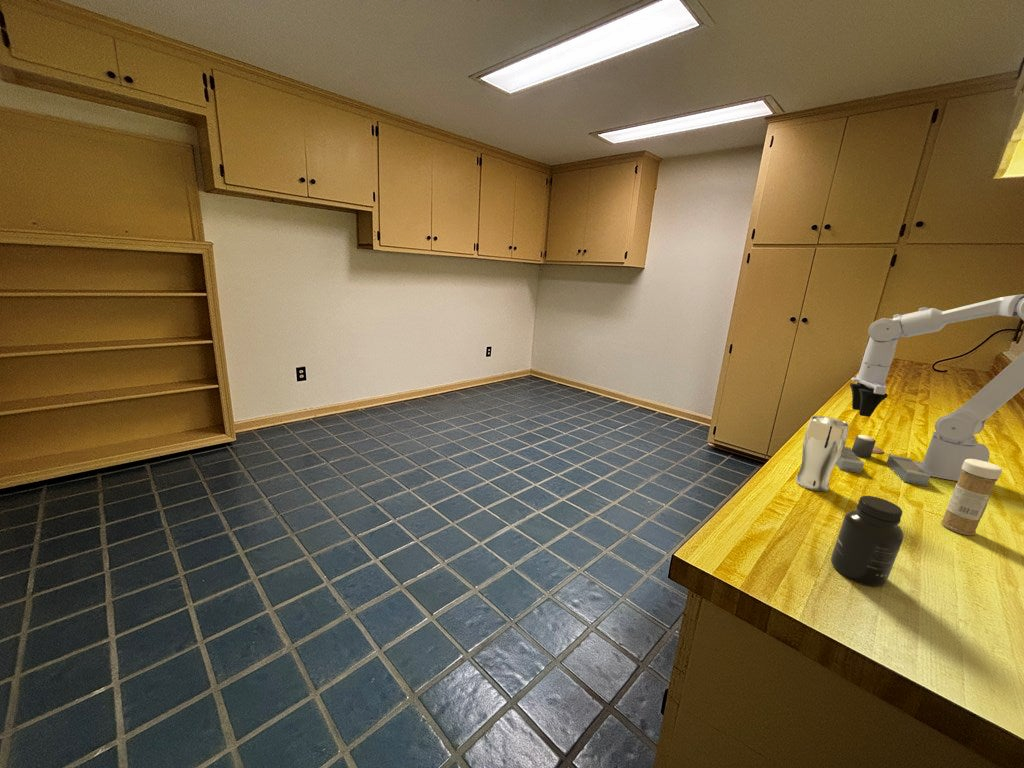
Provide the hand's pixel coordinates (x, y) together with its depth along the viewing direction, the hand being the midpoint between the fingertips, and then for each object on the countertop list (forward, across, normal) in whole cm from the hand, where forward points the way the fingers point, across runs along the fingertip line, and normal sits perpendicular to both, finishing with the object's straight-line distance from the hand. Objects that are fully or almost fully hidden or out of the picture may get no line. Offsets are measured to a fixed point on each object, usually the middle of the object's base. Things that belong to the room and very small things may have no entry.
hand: (860, 412), depth 111 cm
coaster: (+9, +1, +4) cm, 10 cm away
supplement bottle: (+10, +64, -17) cm, 67 cm away
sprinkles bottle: (+10, +40, +5) cm, 42 cm away
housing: (+9, +16, 0) cm, 19 cm away
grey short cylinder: (+9, +8, 0) cm, 12 cm away
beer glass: (+10, +34, -17) cm, 39 cm away
